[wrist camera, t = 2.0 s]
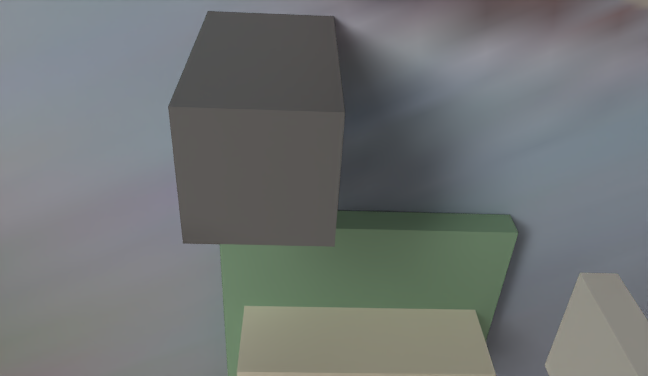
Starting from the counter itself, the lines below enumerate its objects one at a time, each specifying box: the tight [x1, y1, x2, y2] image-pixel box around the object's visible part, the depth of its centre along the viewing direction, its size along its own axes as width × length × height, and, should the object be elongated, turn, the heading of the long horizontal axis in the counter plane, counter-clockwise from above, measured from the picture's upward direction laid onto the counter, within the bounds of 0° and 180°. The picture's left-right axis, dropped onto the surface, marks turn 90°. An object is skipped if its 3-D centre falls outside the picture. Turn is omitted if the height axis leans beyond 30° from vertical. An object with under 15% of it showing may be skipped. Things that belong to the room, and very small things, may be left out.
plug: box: [168, 11, 345, 247], centre depth 18 cm, size 4×4×7 cm
